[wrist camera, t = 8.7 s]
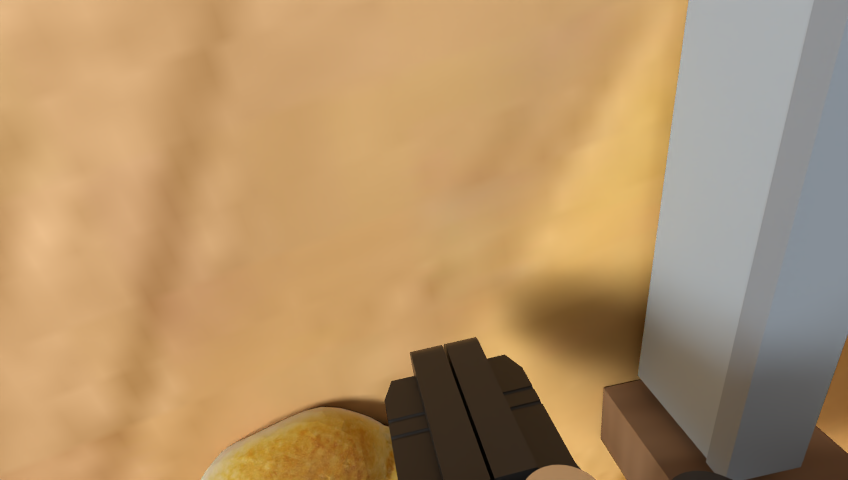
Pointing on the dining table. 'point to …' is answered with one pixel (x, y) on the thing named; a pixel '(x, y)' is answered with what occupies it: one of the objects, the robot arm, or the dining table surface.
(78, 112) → the dining table surface
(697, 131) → the grey rectangular bar
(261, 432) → the bread roll
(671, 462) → the stepped wooden slab
